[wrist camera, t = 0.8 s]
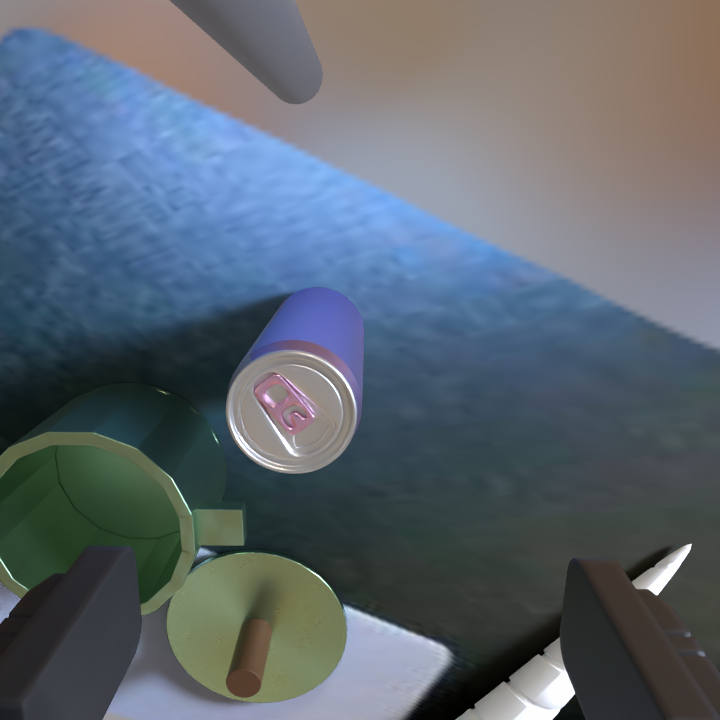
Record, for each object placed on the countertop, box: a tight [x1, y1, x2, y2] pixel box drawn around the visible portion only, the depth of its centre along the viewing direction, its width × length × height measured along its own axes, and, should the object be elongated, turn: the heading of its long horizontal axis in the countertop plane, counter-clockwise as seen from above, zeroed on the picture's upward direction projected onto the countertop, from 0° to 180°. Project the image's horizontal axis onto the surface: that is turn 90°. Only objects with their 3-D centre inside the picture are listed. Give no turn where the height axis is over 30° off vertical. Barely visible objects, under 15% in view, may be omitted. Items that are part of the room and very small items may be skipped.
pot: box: [0, 382, 247, 616], centre depth 39 cm, size 13×18×8 cm
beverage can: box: [226, 287, 364, 474], centre depth 33 cm, size 6×6×15 cm
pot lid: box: [166, 549, 347, 703], centre depth 44 cm, size 14×14×6 cm
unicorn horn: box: [456, 544, 691, 720], centre depth 45 cm, size 5×24×5 cm, turn 136°
